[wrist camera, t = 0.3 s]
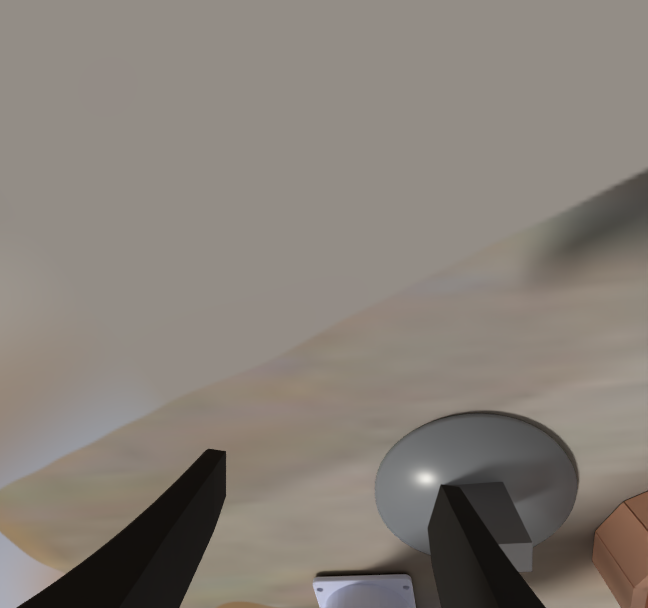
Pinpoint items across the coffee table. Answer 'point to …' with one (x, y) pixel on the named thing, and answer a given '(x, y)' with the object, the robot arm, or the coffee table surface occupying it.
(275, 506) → the coffee table surface
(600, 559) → the bowl
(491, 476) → the lid
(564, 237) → the coffee table surface
